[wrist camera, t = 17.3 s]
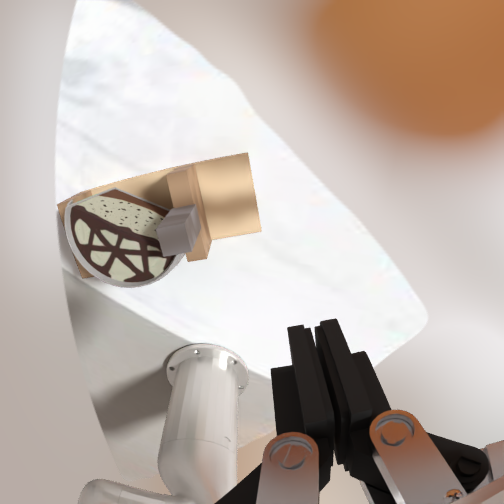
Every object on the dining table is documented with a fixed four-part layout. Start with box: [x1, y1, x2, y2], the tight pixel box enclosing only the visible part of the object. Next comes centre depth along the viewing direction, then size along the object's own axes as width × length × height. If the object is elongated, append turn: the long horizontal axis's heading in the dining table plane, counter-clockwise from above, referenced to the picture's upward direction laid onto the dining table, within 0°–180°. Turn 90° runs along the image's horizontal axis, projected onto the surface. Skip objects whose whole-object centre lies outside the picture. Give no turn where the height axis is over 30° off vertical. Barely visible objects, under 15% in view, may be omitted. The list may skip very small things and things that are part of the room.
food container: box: [65, 187, 185, 288], centre depth 31 cm, size 12×6×10 cm, turn 65°
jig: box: [57, 153, 261, 278], centre depth 33 cm, size 9×21×6 cm, turn 100°
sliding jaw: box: [156, 164, 212, 262], centre depth 29 cm, size 9×2×11 cm, turn 10°
